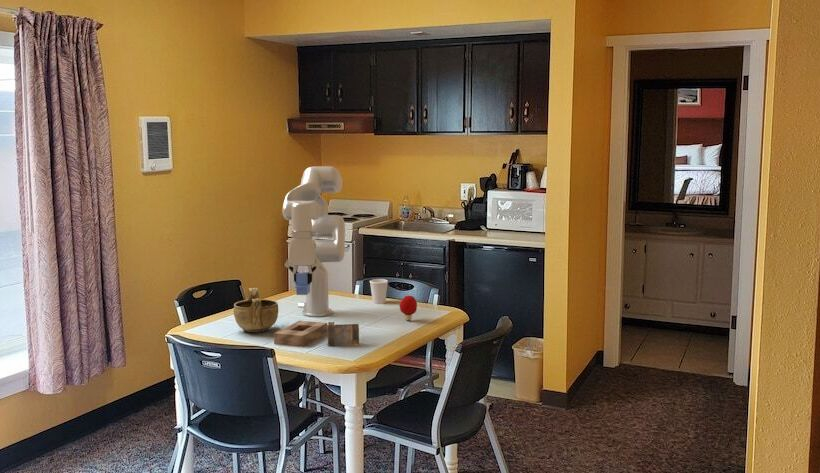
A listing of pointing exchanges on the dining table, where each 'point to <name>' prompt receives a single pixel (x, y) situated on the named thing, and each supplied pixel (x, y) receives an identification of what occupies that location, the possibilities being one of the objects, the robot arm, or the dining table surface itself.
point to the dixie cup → (378, 290)
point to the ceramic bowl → (255, 312)
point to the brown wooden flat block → (300, 333)
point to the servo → (302, 283)
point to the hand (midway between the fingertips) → (303, 283)
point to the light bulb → (408, 306)
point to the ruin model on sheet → (343, 334)
